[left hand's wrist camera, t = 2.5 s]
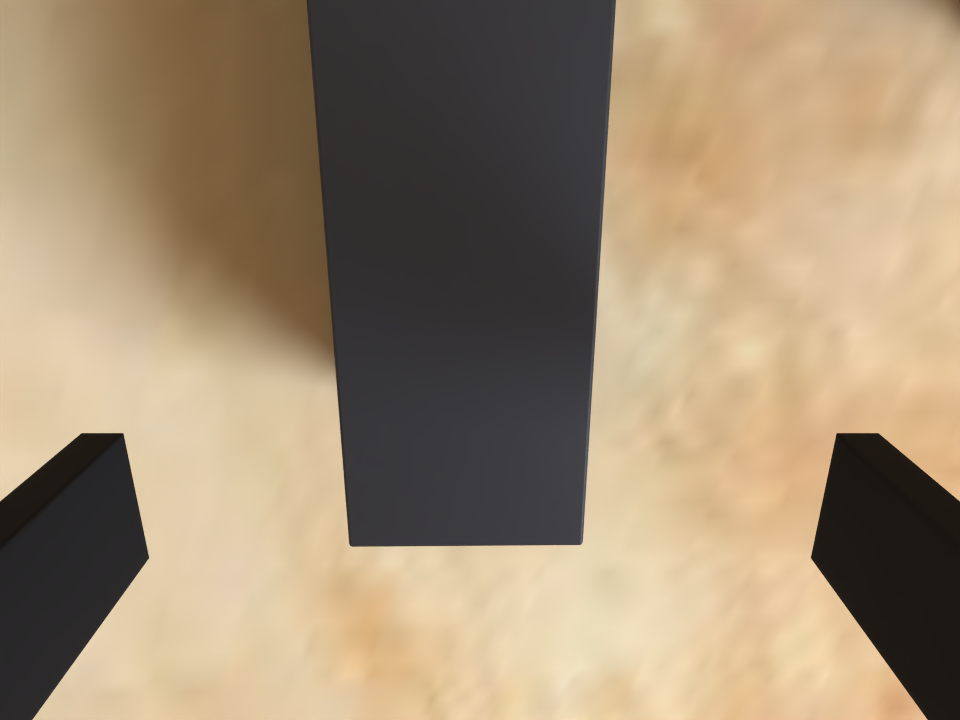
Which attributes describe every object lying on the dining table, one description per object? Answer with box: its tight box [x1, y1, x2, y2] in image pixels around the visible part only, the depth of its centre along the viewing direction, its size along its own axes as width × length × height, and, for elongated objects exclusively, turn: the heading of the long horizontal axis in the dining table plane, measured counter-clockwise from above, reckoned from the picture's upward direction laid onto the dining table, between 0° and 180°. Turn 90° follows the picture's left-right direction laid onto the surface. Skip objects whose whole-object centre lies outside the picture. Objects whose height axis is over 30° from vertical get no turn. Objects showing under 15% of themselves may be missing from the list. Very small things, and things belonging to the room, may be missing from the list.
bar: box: [307, 0, 616, 547], centre depth 18 cm, size 25×6×9 cm, turn 0°
